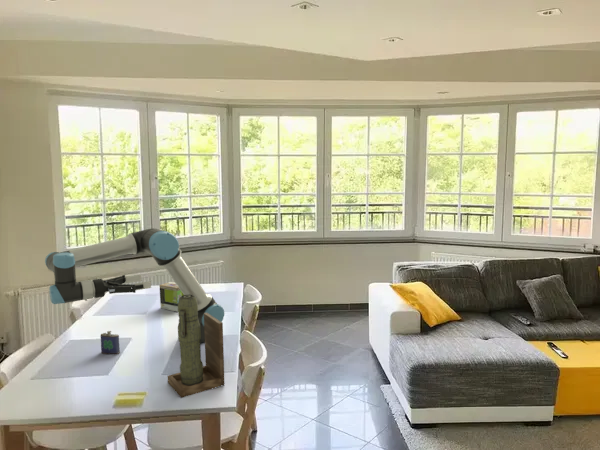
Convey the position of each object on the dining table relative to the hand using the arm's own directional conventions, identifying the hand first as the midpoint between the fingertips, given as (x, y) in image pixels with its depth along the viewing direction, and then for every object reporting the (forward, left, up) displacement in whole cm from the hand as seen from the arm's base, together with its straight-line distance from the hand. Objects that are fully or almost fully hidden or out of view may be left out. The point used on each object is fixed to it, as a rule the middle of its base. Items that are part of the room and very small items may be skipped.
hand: (145, 281), depth 206 cm
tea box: (-37, -71, -38) cm, 89 cm away
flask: (+11, -24, -38) cm, 47 cm away
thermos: (-9, +26, -37) cm, 46 cm away
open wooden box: (-10, +28, -38) cm, 48 cm away
